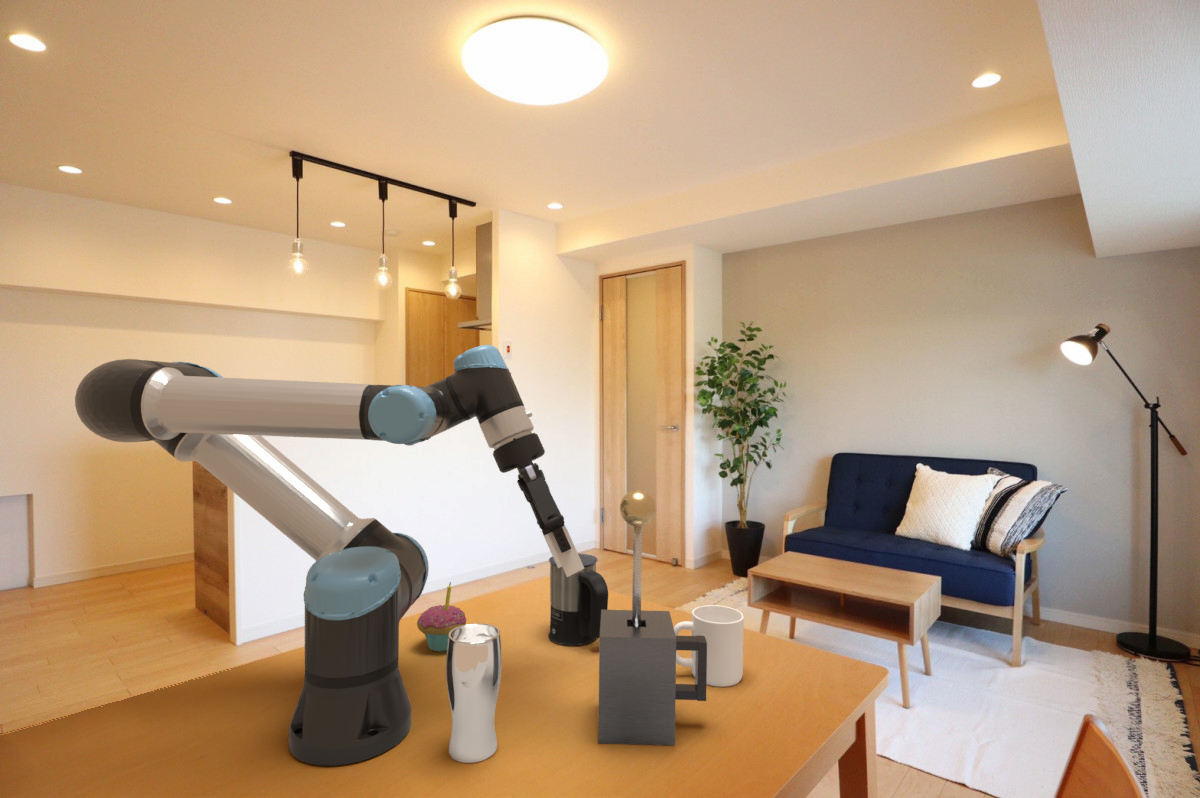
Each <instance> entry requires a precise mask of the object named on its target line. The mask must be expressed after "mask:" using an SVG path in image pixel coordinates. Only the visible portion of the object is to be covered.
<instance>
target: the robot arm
mask: <svg viewBox="0 0 1200 798" xmlns="http://www.w3.org/2000/svg"><path fill="white" fill-rule="evenodd" d="M452 364H453V367H454V373H452V374H450V375H448V376H446V377H445V378H443V379H440V380H438V381H435V382H433V383H431V384H429V385H426V386H415V385H410V384H409V385H407V384H406V385H405V384H395V385H394V384H393V385H391V384H369V383H368V384H367V383H352V382H351V383H347V382H346V383H345V382H328V381H327V382H326V381H325V382H324V381H302V380H285V379H284V380H282V379H264V378H263V379H261V378H259V379H258V378H239V377H235V378H234V377H223V376H222V375H221V374H219V372H217V371H215V370H213V369H211V368H209V367H207V366H203V365H200V364H196V363H192V362H188V361H187V362H186V361H172V362H168V361H159V360H156V361H155V360H147V359H144V360H143V359H137V358H136V359H135V358H127V359H126V358H125V359H123V358H122V359H115V360H111V361H108V362H104V363H102V364H100V365H98V366H97V367H95V368H93V369H92V370H91V371H90V372H89V373H87V374H86V375H85V376H84V377H83V378H82V380H81V381H80V382H79V385H78V386H77V388H76V392H75V396H74V407H75V411H76V413H77V416H78V417H79V419H80V422H82V424H83V425H84V427H86V428H87V429H88V430H89V431H91V432H92V433H94V435H97V436H99V437H101V438H103V439H106V440H109V441H113V442H119V443H139V442H150V441H153V442H154V443H156V444H158V445H159V447H161V448H162V449H163V450H165V451H166V452H167V453H168V454H170V455H171V456H172V457H173V458H174V459H176V460H177V461H178V462H183V463H184V462H197V463H198V464H199V465H200V466H201V467H203V468H204V469H205V470H206V471H208V472H209V473H210V474H211V475H212V476H214V478H216V479H217V480H218V481H220V482H221V483H222V484H223V485H225V486H226V487H227V488H228V489H229V490H230V491H232V493H234V494H235V495H236V496H237V497H239V498H240V499H241V500H243V501H244V502H245V503H246V505H248V506H249V507H251V508H252V509H253V510H255V512H256V513H258V514H259V515H261V516H262V517H263V519H265V520H267V521H268V522H269V523H270V525H272V526H274V527H275V528H276V529H277V530H279V531H280V532H281V533H282V534H283V535H285V536H286V537H287V538H288V539H289V540H290V541H292V542H293V543H294V544H295V545H296V546H297V547H299V548H300V549H301V550H302V551H304V552H305V553H306V554H307V555H309V556H310V557H311V558H312V559H313V560H314V561H315V562H314V563H313V564H312V565H311V566H310V567H309V569H308V570H307V574H306V578H305V587H304V592H303V602H304V681H303V686H302V688H301V691H300V695H299V697H298V700H297V703H296V706H295V709H294V711H293V714H292V718H291V721H290V724H289V726H288V727H289V728H288V749H290V750H289V752H290V751H291V752H290V754H291V753H292V754H293V755H294V756H295V757H296V759H297V758H298V759H299V761H300V760H302V761H301V762H303V763H305V762H306V763H305V764H309V765H313V766H314V765H315V764H316V765H315V766H323V767H324V766H325V767H326V765H327V767H328V766H330V767H331V766H332V767H333V766H342V765H349V764H355V763H358V762H361V761H365V760H369V759H371V757H372V758H374V757H376V755H377V756H378V755H381V754H383V753H385V752H387V751H388V750H392V748H394V747H395V746H396V745H398V744H399V743H400V742H402V740H403V739H404V738H406V736H407V735H408V733H409V732H410V729H411V726H412V705H411V701H410V699H409V694H408V692H407V688H406V685H405V683H404V681H403V678H402V675H401V672H400V669H399V668H400V667H399V648H400V645H399V644H400V643H399V642H400V641H399V638H400V637H399V636H400V621H401V620H402V618H403V617H404V616H405V615H406V614H407V612H408V611H409V609H410V608H411V607H412V606H413V605H414V604H415V602H416V601H417V600H418V599H419V598H420V597H421V595H422V593H423V591H424V589H425V585H426V583H427V580H428V576H429V560H428V556H427V554H426V552H425V550H424V547H422V545H421V544H420V543H419V542H418V541H417V540H416V539H415V538H414V537H412V536H410V535H408V534H405V533H400V532H393V531H391V530H390V529H388V528H387V527H386V526H385V525H384V524H383V523H381V522H380V521H379V520H377V519H376V518H375V517H370V518H360V517H358V516H357V515H356V514H355V513H354V512H352V511H351V510H350V509H349V508H347V507H346V506H345V505H344V504H343V503H342V502H340V501H339V500H338V499H337V498H335V496H333V495H332V494H331V493H330V492H329V491H327V490H326V489H325V488H323V486H322V485H320V483H318V482H317V481H316V480H314V479H313V477H311V476H310V475H308V474H307V473H306V472H305V471H303V470H302V469H301V468H300V467H299V466H298V465H296V464H295V463H294V462H293V461H292V460H291V459H290V458H288V457H287V456H286V455H285V454H283V453H282V452H281V451H280V450H279V449H278V448H276V447H275V446H274V445H273V444H271V443H270V442H269V441H268V440H267V439H266V438H264V437H285V438H286V437H288V438H289V437H290V438H315V439H335V440H336V439H337V440H338V439H342V440H364V441H365V440H366V441H367V440H369V441H381V442H383V441H384V442H388V443H389V444H390V443H391V444H395V445H404V446H408V447H409V446H414V445H416V444H418V443H423V442H425V441H429V440H430V439H431V438H432V437H434V436H437V435H439V434H441V433H443V432H446V431H447V430H450V429H452V428H454V427H456V426H458V425H460V424H462V423H464V422H467V421H470V420H471V419H474V418H475V417H476V419H477V422H478V424H479V427H480V429H481V432H482V434H483V437H484V439H485V441H486V443H487V446H488V448H489V449H494V450H493V451H492V452H493V453H492V456H493V459H494V461H495V463H496V465H497V467H498V469H499V472H501V473H503V474H504V473H508V472H512V471H514V470H515V469H517V471H518V474H517V484H518V488H519V489H520V490H521V492H522V493H523V495H524V498H525V499H526V502H527V503H529V504H530V507H531V510H532V513H533V515H534V517H535V519H536V524H537V525H538V526H539V529H540V530H541V533H542V536H543V537H544V539H545V542H546V544H547V547H548V548H549V552H550V553H551V557H553V558H554V560H555V562H556V565H557V567H558V568H560V567H563V570H564V572H565V574H566V576H567V577H569V576H571V575H573V574H575V573H576V572H578V571H580V570H582V569H584V566H583V564H582V562H581V559H580V557H579V555H578V551H577V549H576V547H575V543H574V542H573V540H572V537H571V535H570V532H569V531H568V529H567V528H568V527H567V526H566V525H565V518H564V516H563V515H562V513H561V511H560V509H559V508H558V506H557V504H556V501H555V499H554V497H553V496H552V493H551V490H550V487H549V485H548V483H547V481H546V477H545V473H544V472H543V470H542V469H540V466H539V464H538V463H537V462H534V461H535V460H538V459H539V458H541V457H542V456H544V455H545V453H546V450H545V448H544V447H543V444H542V441H541V440H540V437H539V435H538V434H537V433H535V432H533V430H534V427H535V426H534V425H533V423H532V421H531V417H532V416H533V413H532V411H530V410H529V411H528V410H527V411H526V406H525V404H524V402H523V400H522V398H521V394H520V392H519V391H518V388H517V386H516V384H515V381H514V378H513V377H512V373H511V372H510V370H509V368H508V366H507V364H506V362H505V360H504V358H503V356H502V354H501V353H500V351H499V349H498V348H497V347H496V346H494V345H491V344H482V345H479V346H475V347H472V348H470V349H467V350H466V351H464V352H463V353H461V354H459V355H458V356H456V357H455V358H454V360H453V362H452ZM292 754H291V755H292ZM293 755H292V756H293ZM294 756H293V757H294ZM295 757H294V758H295ZM298 759H297V760H298Z"/></svg>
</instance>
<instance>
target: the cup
mask: <svg viewBox="0 0 1200 798" xmlns="http://www.w3.org/2000/svg"><path fill="white" fill-rule="evenodd" d="M744 620H745V619H744V614H743V613H742V612H741V611H740V610H739V609H736V608H733V607H729V606H726V605H725V606H724V605H719V604H708V605H700V606H697V607H695V608H694V609H693V610H691V621H688V620H687V621H686V620H685V621H680V622H677V623H676V624H675V625H673V628H674V631H675V635H676V636H679V633H680V632H681V631H682V630H688V631H691V636H705V639H706V641H707V680H706V686H711V687H717V688H718V687H719V688H721V687H722V688H724V687H725V688H727V687H732V686H735V685H737V684H739V683H740V682H741V680H742V678H743V673H744V628H745V627H744V622H745V621H744ZM690 652H691V653H690V654H691V657H681V656H680V655H679V654H678V650H676V664H678V665H680V666H682V667H686V668H687V667H688V668H690V667H691V673H692V676H693V677H694V678H695V660H696V651H692V650H690Z"/></svg>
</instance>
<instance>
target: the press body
mask: <svg viewBox="0 0 1200 798" xmlns="http://www.w3.org/2000/svg"><path fill="white" fill-rule="evenodd" d="M598 646H599V653H598V654H599V656H598V658H599V659H598V660H599V661H598V662H599V663H598V721H597V722H598V725H597V726H598V730H597V731H598V735H597V736H598V737H597V741H598V742H597V744H603V745H605V744H607V745H611V744H612V745H639V746H640V745H643V746H647V745H648V746H650V745H651V746H675V745H676V743H675V742H676V741H675V740H676V701H677V700H679V701H697V702H707V684H706V680H707V641H706V639H705V636H692V635H678V636H676V635H675V631H674V624H673V621H672V617H671V612H670V610H642V609H641V627H632V609H630V610H629V609H627V610H626V609H607V610H601V623H600V637H599V645H598ZM676 650H677V651H691V650H692V651H696V660H695V677H694V684H693V683H689V684H688V683H676V681H677V680H676V679H677V663H676Z"/></svg>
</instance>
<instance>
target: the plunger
mask: <svg viewBox="0 0 1200 798" xmlns="http://www.w3.org/2000/svg"><path fill="white" fill-rule="evenodd" d="M619 511H620V514H621V515H620V516H621V517H622V519H623V521H625V522H626V523H627V524H629V525H630V526H632V527H633V528H632V529H633V534H632V538H633V539H632V540H633V542H632V546H633V547H632V548H633V549H632V604H631V605H632V608H631V610H632V627H641V610H642V569H643V568H642V567H643V566H642V564H643V563H642V559H643V555H642V554H643V527H644V526H647V525H648V524H650V523H651V522H652V521H653V519H654V518H655V516H656V512H657V504H656V501H655V499H654V498H653V496H652V495H651V494H650V493H649V492H647V491H645V490H641V489H635V490H631V491H628V492H626V494H625V495H624V496H623V498H622V499H621V501H620V505H619Z"/></svg>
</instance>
